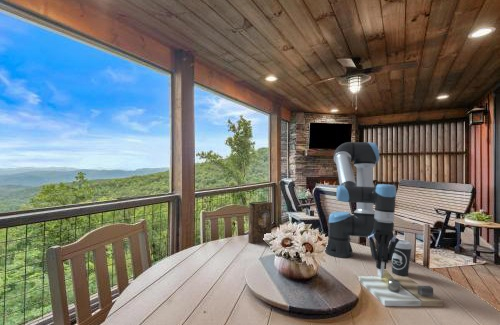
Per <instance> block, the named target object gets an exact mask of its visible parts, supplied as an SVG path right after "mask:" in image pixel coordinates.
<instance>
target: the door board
mask: <svg viewBox="0 0 500 325" xmlns="http://www.w3.org/2000/svg"><path fill="white" fill-rule="evenodd" d="M392 277H393V278H394V279H395V280H398V281H399V282H400V291H399V292H394V291H391V290H389V289H388V286H387V285H386V283H385V282H384V281H383V279H382V278H381V277H379V276H378V275H376V276H375V275H373V276H371V275H370V276H369V275H368V276H366V275H364V276H363V275H362V276H359V275H358V282H359V283H360V284H361V285H362V286H363V287H364V288H366V290H367V291H368V292H370V294H372V296H374V297H375V298H376V299H377V300H378V301H379V302H380V303H381V304H382V305H383V306H384V307H445V306H444V304H445V301H444V300H443V299H442V298H440V297H439V296H437V295H436V294H434V287H432V286H431V285H421V284H419V283H418V282H416V281H415V280H413V279H412V278H410V276H409V277H408V276H392Z"/></svg>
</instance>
